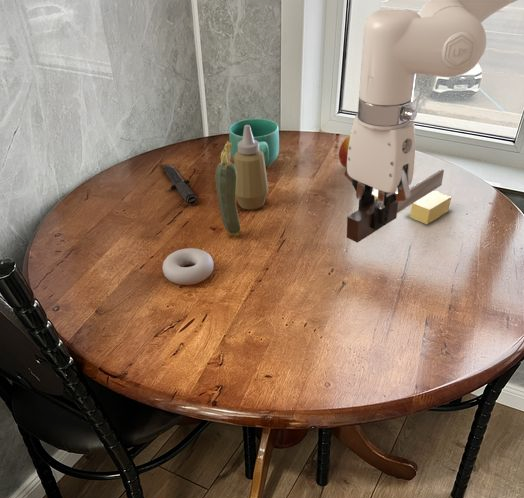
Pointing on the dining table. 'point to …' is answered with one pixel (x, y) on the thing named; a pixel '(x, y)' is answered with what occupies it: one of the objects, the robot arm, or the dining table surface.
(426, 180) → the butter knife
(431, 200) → the butter
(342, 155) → the fruit
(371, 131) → the robot arm
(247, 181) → the squeeze bottle
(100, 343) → the dining table surface
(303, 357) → the dining table surface
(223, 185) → the vegetable
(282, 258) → the dining table surface
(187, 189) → the knife
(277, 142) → the mug
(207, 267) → the donut
